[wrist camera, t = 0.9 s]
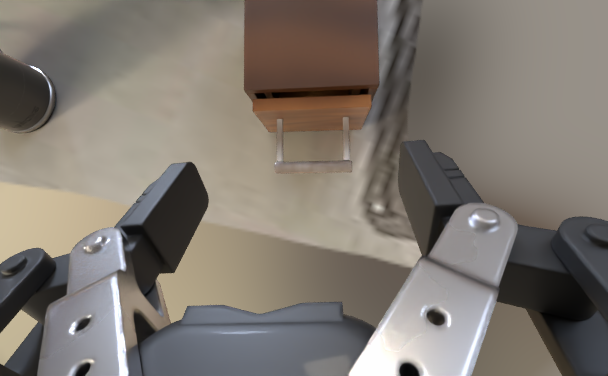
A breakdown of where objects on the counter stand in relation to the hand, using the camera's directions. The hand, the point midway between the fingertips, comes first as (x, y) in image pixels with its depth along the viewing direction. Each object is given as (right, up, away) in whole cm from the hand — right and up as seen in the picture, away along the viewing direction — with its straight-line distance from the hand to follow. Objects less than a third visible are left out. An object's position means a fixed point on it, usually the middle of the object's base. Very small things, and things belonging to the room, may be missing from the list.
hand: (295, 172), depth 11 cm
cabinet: (+2, +15, +25) cm, 29 cm away
